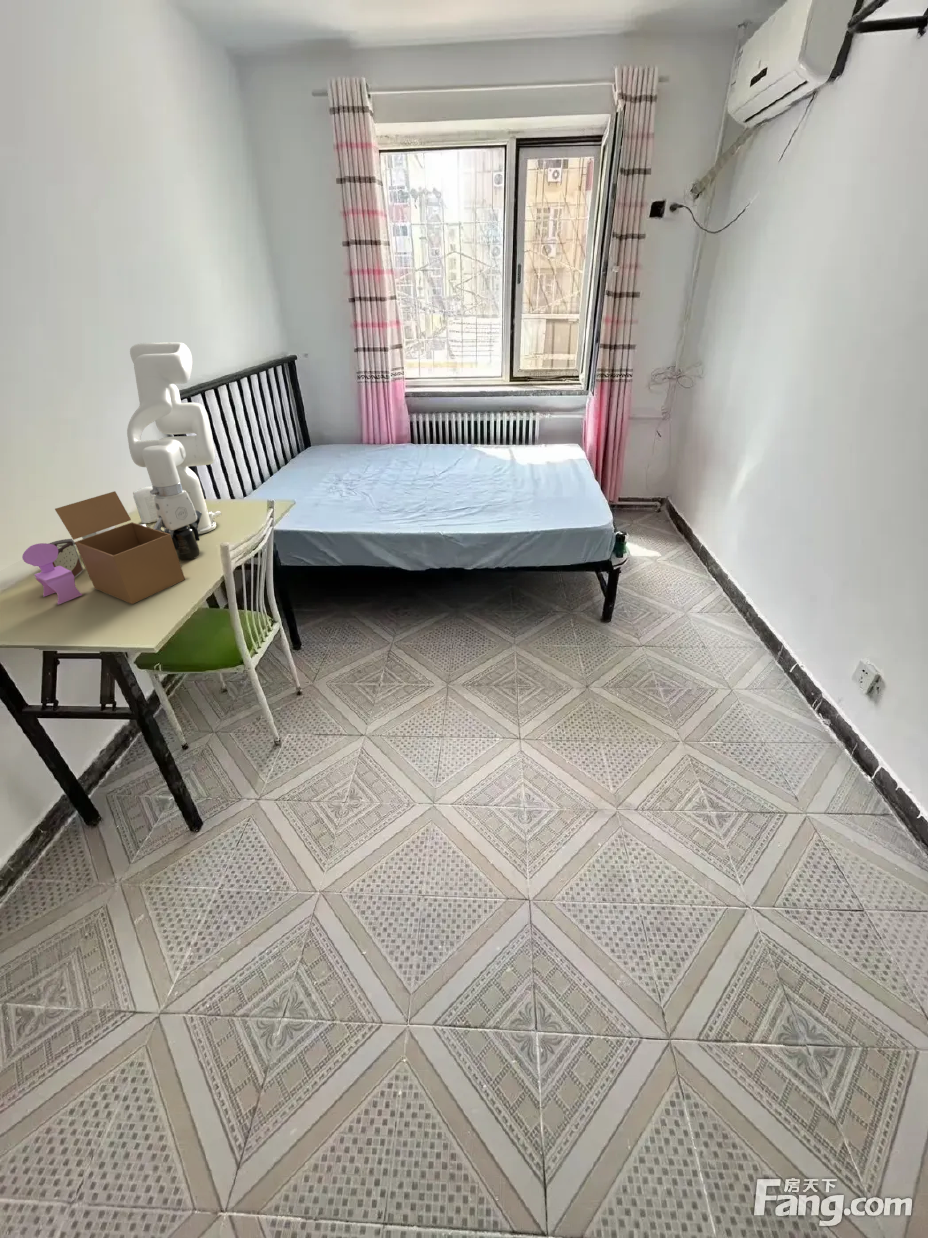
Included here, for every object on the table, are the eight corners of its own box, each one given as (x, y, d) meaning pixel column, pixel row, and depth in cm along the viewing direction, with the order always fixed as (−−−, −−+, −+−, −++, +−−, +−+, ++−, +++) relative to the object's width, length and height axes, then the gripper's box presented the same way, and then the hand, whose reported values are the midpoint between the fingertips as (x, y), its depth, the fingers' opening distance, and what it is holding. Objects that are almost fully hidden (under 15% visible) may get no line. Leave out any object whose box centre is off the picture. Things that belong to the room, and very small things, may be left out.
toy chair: (55, 606, 140) (30, 556, 132) (39, 598, 144) (14, 548, 136) (87, 593, 146) (65, 544, 138) (71, 585, 150) (48, 537, 142)
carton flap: (73, 539, 141) (73, 539, 141) (131, 519, 153) (130, 520, 153) (54, 508, 138) (54, 508, 138) (115, 491, 149) (114, 491, 150)
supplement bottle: (205, 553, 169) (195, 518, 162) (189, 562, 163) (178, 526, 157) (188, 550, 170) (177, 515, 164) (172, 558, 165) (160, 523, 158)
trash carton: (94, 588, 149) (74, 542, 141) (148, 565, 161) (132, 522, 153) (132, 604, 142) (113, 556, 134) (185, 579, 153) (170, 534, 146)
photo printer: (169, 514, 197) (159, 482, 190) (174, 517, 194) (163, 485, 187) (140, 521, 191) (128, 489, 184) (144, 525, 188) (132, 491, 181)
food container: (65, 568, 159) (51, 538, 154) (86, 568, 160) (73, 537, 154) (41, 588, 149) (25, 556, 143) (63, 587, 149) (48, 555, 144)
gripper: (148, 500, 147) (168, 557, 157) (201, 483, 160) (216, 536, 169) (132, 495, 150) (152, 552, 160) (185, 479, 163) (201, 532, 172)
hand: (185, 543), depth 164 cm, fingers closed on supplement bottle, 6 cm apart
